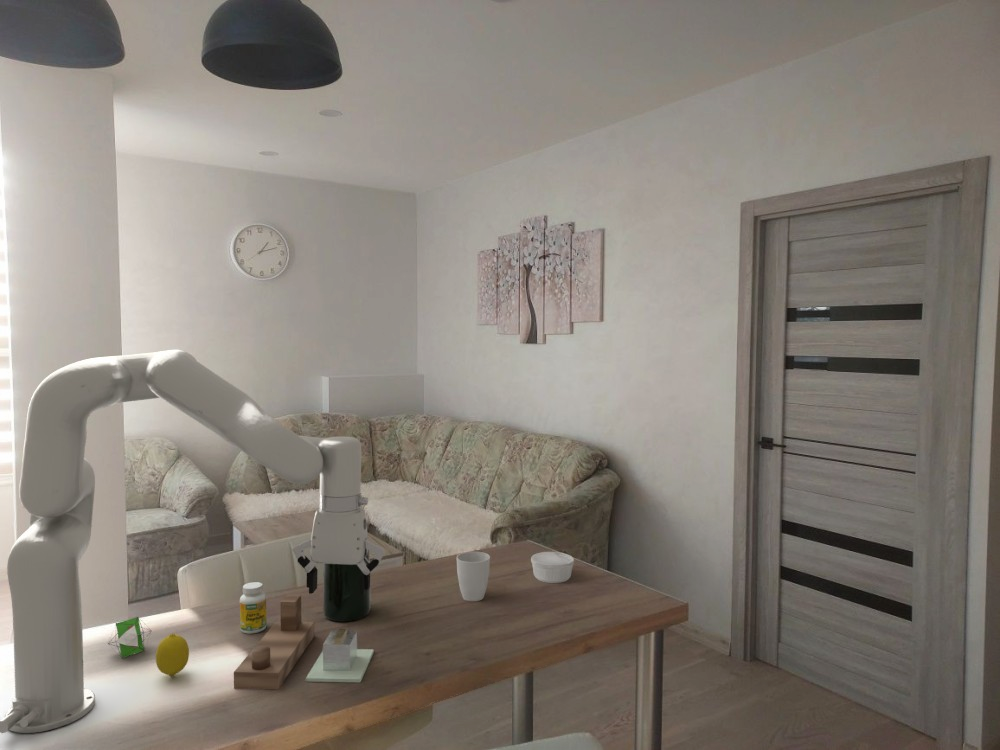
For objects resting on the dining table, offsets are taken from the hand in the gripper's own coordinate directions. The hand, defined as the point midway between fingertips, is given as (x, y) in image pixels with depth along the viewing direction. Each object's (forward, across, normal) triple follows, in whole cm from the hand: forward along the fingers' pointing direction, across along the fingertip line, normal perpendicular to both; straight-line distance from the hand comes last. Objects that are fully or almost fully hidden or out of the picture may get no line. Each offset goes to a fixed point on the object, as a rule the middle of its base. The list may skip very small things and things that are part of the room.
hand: (338, 592), depth 131 cm
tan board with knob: (+15, +12, -2) cm, 19 cm away
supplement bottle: (+15, +22, -16) cm, 31 cm away
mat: (+14, -1, 0) cm, 15 cm away
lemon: (+15, +29, +5) cm, 33 cm away
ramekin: (+14, -44, -51) cm, 69 cm away
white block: (+14, -1, 0) cm, 14 cm away
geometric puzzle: (+16, +42, -4) cm, 45 cm away
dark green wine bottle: (+15, +4, -25) cm, 30 cm away
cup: (+14, -24, -36) cm, 46 cm away
